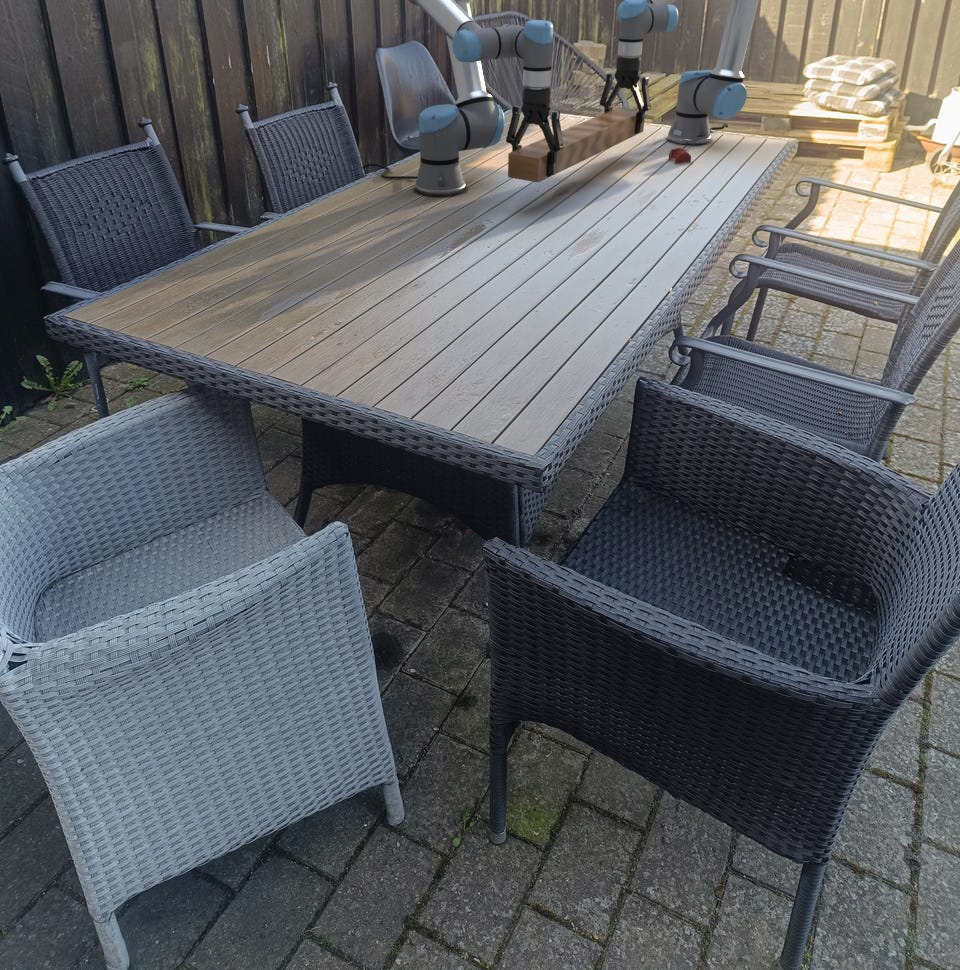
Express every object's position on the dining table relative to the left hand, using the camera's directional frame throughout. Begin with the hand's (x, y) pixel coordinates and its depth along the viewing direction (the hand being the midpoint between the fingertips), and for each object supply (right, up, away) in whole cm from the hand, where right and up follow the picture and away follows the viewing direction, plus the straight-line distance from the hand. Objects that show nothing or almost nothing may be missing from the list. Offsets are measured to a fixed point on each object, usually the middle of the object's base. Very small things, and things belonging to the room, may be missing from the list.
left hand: (533, 172), depth 237 cm
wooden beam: (+16, +14, +20) cm, 29 cm away
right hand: (+32, +29, +40) cm, 59 cm away
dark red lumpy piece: (+52, +22, +47) cm, 74 cm away
